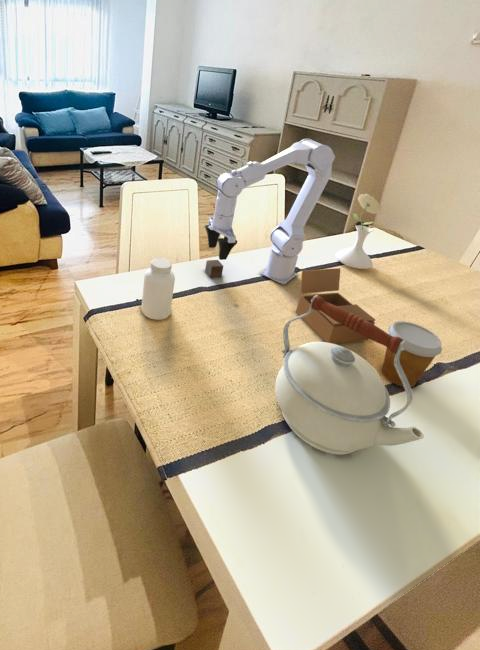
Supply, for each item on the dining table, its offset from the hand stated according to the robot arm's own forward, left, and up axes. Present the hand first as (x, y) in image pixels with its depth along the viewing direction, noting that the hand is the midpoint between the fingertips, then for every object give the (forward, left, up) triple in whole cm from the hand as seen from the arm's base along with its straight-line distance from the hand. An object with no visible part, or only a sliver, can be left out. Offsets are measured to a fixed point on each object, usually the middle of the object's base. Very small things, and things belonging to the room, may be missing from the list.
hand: (217, 253), depth 120 cm
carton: (-3, +35, -8) cm, 36 cm away
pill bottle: (+29, +1, -8) cm, 30 cm away
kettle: (+30, +46, -8) cm, 55 cm away
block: (0, 0, -8) cm, 8 cm away
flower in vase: (-46, +27, -8) cm, 54 cm away
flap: (-7, +29, +1) cm, 29 cm away
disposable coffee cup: (+4, +52, -8) cm, 52 cm away
